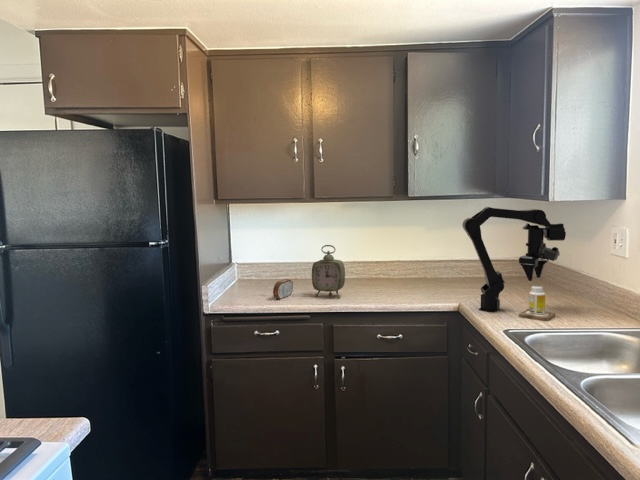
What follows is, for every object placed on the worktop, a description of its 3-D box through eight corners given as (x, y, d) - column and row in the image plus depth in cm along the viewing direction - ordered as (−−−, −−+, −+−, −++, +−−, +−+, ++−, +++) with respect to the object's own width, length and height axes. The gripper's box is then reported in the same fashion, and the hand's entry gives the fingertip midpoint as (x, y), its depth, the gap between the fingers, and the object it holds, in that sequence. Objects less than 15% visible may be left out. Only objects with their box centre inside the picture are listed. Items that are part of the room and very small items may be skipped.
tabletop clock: (312, 298, 214) (310, 245, 212) (318, 293, 223) (317, 243, 221) (341, 299, 210) (340, 246, 208) (346, 295, 219) (345, 244, 216)
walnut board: (518, 316, 175) (518, 313, 175) (528, 311, 182) (528, 308, 182) (546, 321, 168) (546, 318, 168) (555, 316, 175) (555, 312, 175)
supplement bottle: (546, 312, 175) (547, 286, 174) (542, 315, 171) (542, 289, 170) (531, 310, 179) (532, 285, 178) (526, 313, 175) (527, 287, 174)
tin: (288, 294, 224) (288, 277, 224) (294, 294, 223) (293, 277, 222) (272, 300, 211) (272, 282, 210) (278, 301, 210) (277, 283, 209)
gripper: (549, 243, 168) (548, 285, 170) (564, 239, 182) (563, 278, 183) (518, 242, 176) (517, 281, 178) (535, 238, 189) (534, 275, 191)
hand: (534, 279), depth 182 cm, fingers open, 9 cm apart
